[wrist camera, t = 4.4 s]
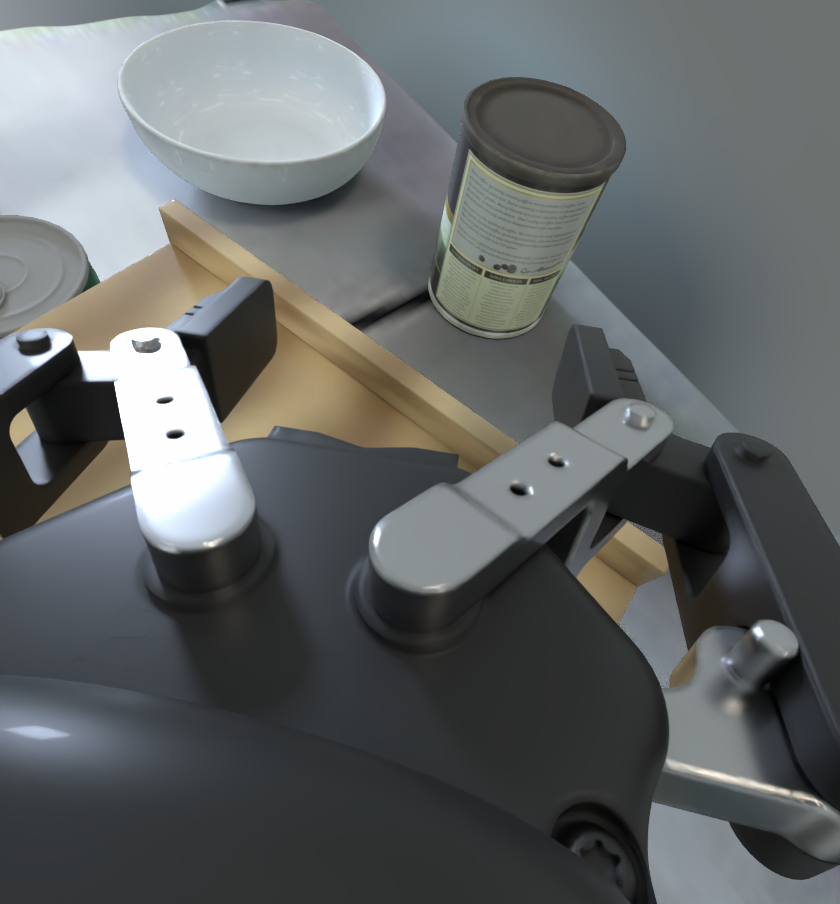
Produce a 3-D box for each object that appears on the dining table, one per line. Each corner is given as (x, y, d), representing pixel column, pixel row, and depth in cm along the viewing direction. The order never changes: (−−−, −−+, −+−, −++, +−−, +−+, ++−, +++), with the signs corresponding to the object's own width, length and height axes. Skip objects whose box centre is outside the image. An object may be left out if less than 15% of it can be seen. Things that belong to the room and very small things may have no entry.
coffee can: (408, 261, 44) (436, 79, 32) (511, 243, 47) (573, 71, 35) (457, 352, 40) (512, 185, 28) (566, 326, 43) (659, 165, 31)
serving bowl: (337, 92, 54) (338, 13, 48) (413, 221, 46) (425, 146, 40) (125, 107, 48) (96, 18, 42) (171, 260, 40) (143, 178, 34)
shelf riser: (79, 557, 29) (-178, 383, 14) (241, 422, 34) (174, 198, 20) (382, 843, 25) (451, 1006, 10) (511, 638, 30) (675, 554, 16)
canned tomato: (43, 349, 35) (-69, 204, 25) (166, 357, 36) (105, 221, 26) (2, 453, 31) (-148, 329, 21) (141, 458, 32) (59, 342, 22)
